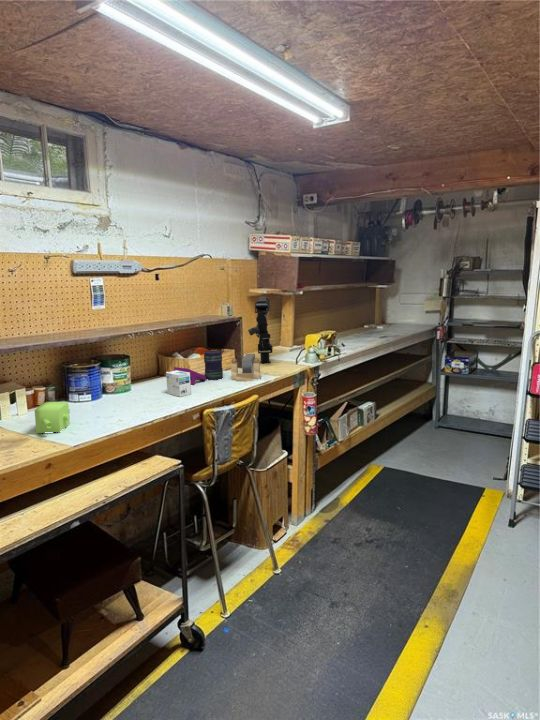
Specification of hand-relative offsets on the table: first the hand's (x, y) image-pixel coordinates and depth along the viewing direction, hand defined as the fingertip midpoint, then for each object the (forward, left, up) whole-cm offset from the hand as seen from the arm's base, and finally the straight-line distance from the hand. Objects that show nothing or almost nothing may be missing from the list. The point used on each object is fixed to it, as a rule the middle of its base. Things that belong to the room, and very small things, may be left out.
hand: (263, 348), depth 278 cm
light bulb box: (+53, -47, -12) cm, 72 cm away
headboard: (+30, -13, -12) cm, 35 cm away
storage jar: (+22, -30, -12) cm, 39 cm away
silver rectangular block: (+14, -10, -12) cm, 21 cm away
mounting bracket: (+30, -42, -13) cm, 53 cm away
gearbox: (+97, -90, -12) cm, 133 cm away
